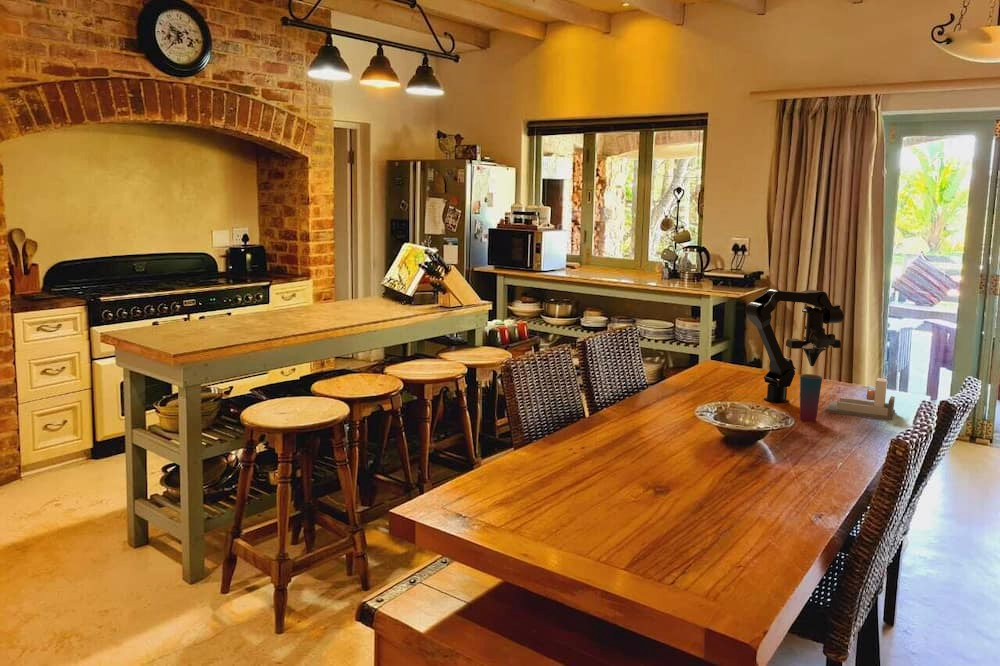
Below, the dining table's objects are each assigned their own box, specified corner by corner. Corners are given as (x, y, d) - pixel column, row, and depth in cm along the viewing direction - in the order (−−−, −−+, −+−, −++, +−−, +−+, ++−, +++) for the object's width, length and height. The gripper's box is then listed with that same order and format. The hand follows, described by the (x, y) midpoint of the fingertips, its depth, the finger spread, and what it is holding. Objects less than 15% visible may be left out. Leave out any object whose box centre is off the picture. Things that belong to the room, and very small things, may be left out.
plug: (865, 411, 262) (867, 379, 260) (866, 407, 266) (869, 376, 264) (882, 413, 259) (885, 381, 257) (884, 409, 263) (887, 378, 261)
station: (826, 411, 265) (827, 395, 264) (831, 404, 275) (832, 388, 274) (891, 420, 255) (893, 403, 254) (894, 412, 265) (896, 395, 264)
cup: (795, 421, 254) (799, 377, 251) (798, 416, 260) (801, 373, 257) (817, 423, 251) (821, 379, 248) (819, 418, 257) (823, 375, 254)
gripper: (800, 328, 270) (797, 371, 273) (850, 327, 272) (847, 370, 274) (786, 323, 281) (783, 364, 284) (835, 322, 283) (832, 363, 285)
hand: (811, 366), depth 282 cm, fingers closed
